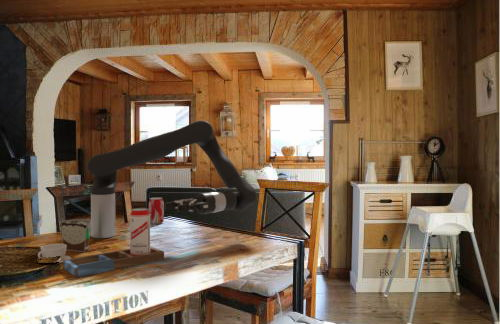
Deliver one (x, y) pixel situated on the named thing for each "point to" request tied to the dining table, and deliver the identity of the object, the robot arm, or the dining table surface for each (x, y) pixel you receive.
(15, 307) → the dining table surface
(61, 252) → the teacup
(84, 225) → the food container
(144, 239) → the beer can
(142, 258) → the slotted rack
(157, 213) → the soda can
